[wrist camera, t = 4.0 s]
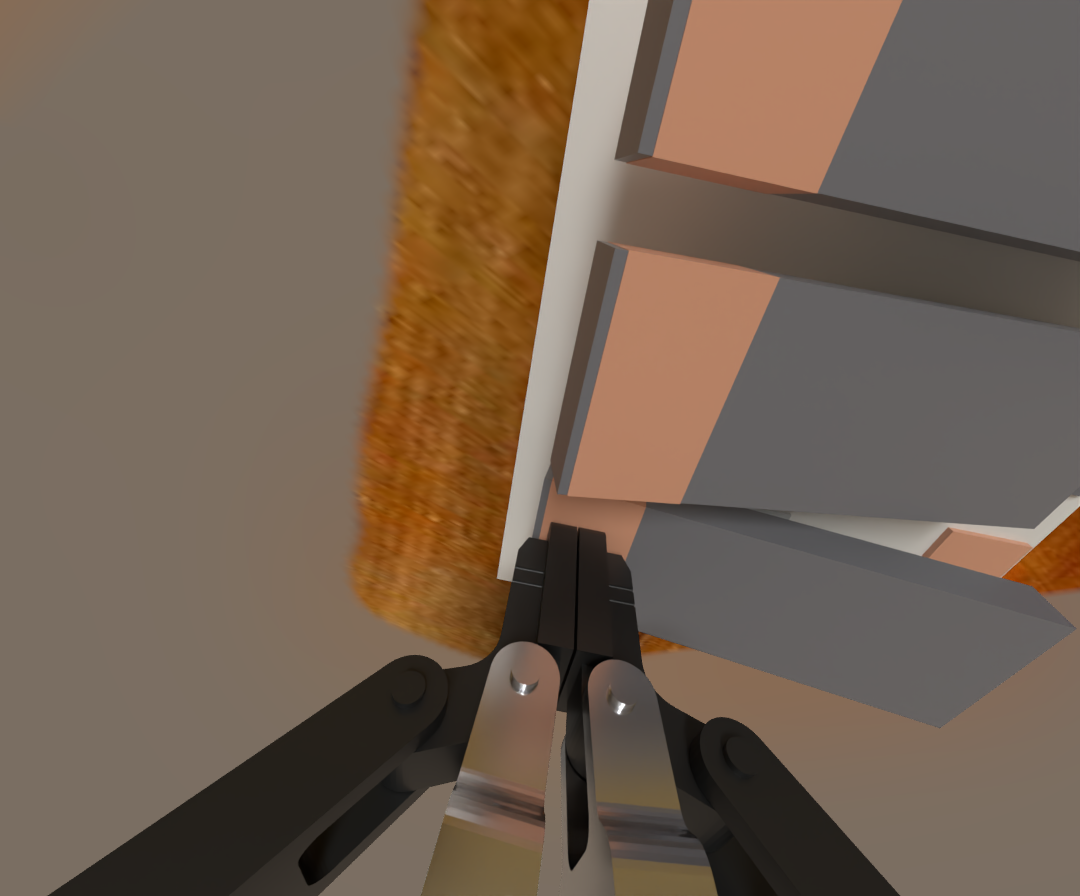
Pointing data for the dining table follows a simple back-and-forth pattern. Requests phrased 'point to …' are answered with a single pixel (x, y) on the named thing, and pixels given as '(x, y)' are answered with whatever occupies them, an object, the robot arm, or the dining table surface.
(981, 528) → the switch box
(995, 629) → the switch
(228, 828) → the robot arm
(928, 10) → the switch
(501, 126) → the dining table surface
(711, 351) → the switch
